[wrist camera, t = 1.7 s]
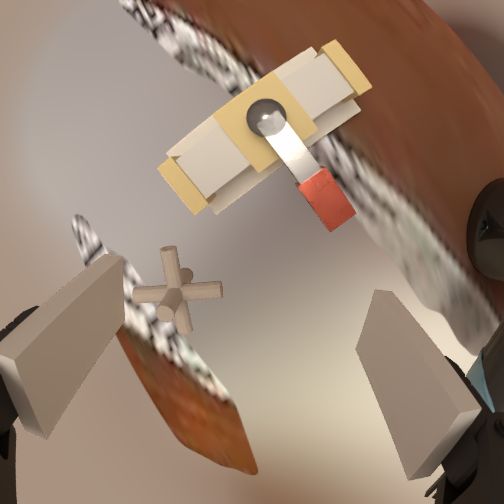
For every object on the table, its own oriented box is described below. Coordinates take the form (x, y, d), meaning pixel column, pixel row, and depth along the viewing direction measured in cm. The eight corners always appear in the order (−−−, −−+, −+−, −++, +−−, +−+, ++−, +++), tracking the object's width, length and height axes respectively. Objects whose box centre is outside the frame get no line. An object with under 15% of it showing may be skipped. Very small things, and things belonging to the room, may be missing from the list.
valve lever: (350, 206, 26) (358, 211, 24) (322, 227, 27) (328, 233, 24) (269, 95, 23) (270, 90, 21) (239, 116, 24) (237, 113, 22)
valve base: (357, 111, 32) (389, 101, 23) (217, 213, 36) (204, 235, 27) (309, 50, 30) (326, 20, 21) (169, 152, 34) (139, 154, 25)
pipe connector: (231, 307, 40) (223, 354, 31) (157, 312, 41) (132, 355, 31) (220, 231, 37) (207, 260, 27) (141, 240, 37) (106, 269, 28)
